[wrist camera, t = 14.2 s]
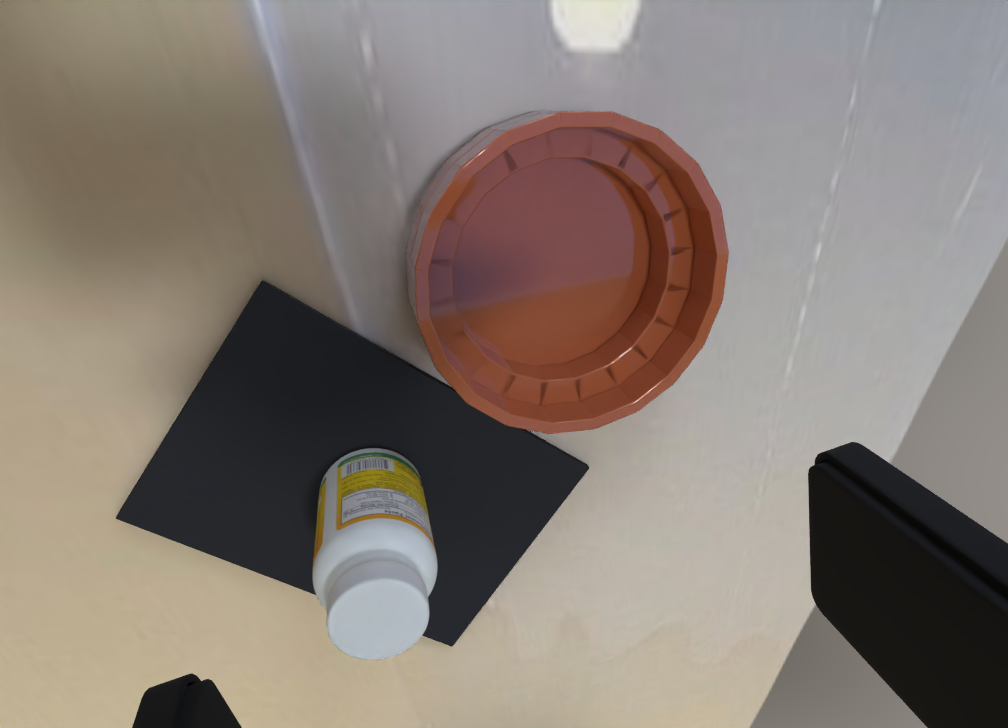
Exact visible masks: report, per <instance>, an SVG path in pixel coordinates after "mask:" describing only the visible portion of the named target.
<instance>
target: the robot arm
mask: <svg viewBox="0 0 1008 728" xmlns="http://www.w3.org/2000/svg"><path fill="white" fill-rule="evenodd" d="M808 483H809V524H810V565H811V592H812V596H813V599H814V601H815V603H816V605H817V607H818V608H819V609H820V611H821V612H822V614H823V615H824V616H825V617H826V618H827V619H828V620H829V621H830V622H831V623H832V625H833V626H834V627H835V628H836V629H837V630H838V631H839V632H840V633H841V634H842V635H843V636H844V638H845V639H846V640H847V641H848V642H849V643H850V644H851V645H852V646H853V647H854V648H855V649H856V651H857V652H858V653H859V654H860V655H861V656H862V657H863V658H864V659H865V660H866V661H867V662H868V664H869V665H870V666H871V667H872V668H873V669H874V670H875V671H876V672H877V673H878V674H879V675H880V676H881V678H882V679H883V680H884V681H885V682H886V683H887V684H888V685H889V686H890V687H891V688H892V690H893V691H894V692H895V693H896V694H897V695H898V696H899V697H900V698H901V699H902V700H903V701H904V702H905V704H906V705H907V706H908V707H909V708H910V709H911V710H912V711H913V712H914V713H915V714H916V716H918V718H919V719H920V720H921V721H922V722H923V723H924V724H925V725H926V726H927V727H928V728H1008V543H1006V542H1005V541H1003V540H1002V539H1000V538H999V537H997V536H996V535H994V534H993V533H991V532H989V531H988V530H987V529H985V528H984V527H982V526H981V525H980V524H978V523H977V522H975V521H974V520H972V519H970V518H969V517H968V516H966V515H965V514H963V513H962V512H960V511H959V510H957V509H956V508H954V507H953V506H952V505H950V504H948V503H947V502H946V501H944V500H943V499H941V498H940V497H938V496H937V495H935V494H934V493H932V492H931V491H929V490H928V489H926V488H925V487H923V486H922V485H921V484H919V483H918V482H916V481H915V480H913V479H912V478H910V477H909V476H907V475H906V474H904V473H903V472H901V471H900V470H898V469H897V468H895V467H894V466H893V465H891V464H890V463H888V462H887V461H885V460H884V459H882V458H881V457H879V456H878V455H876V454H875V453H873V452H872V451H870V450H869V449H867V448H866V447H864V446H863V445H861V444H859V443H855V442H851V443H848V444H845V445H842V446H839V447H837V448H834V449H831V450H828V451H825V452H822V453H820V454H818V455H817V457H816V459H815V465H814V466H812V467H810V469H809V473H808ZM132 728H242V727H241V726H240V724H239V723H238V721H237V719H236V718H235V716H234V714H233V713H232V711H231V710H230V708H229V706H228V705H227V703H226V702H225V700H224V698H223V697H222V695H221V694H220V692H219V690H218V689H217V687H216V686H215V684H214V683H213V682H212V680H209V679H207V680H203V681H201V680H200V679H199V678H198V677H197V676H196V675H194V674H188V675H185V676H182V677H179V678H176V679H174V680H171V681H168V682H165V683H162V684H159V685H156V686H154V687H151V688H149V689H148V690H147V691H146V692H145V693H144V695H143V697H142V699H141V702H140V706H139V709H138V712H137V715H136V718H135V721H134V724H133V727H132Z"/></svg>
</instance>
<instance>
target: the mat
mask: <svg viewBox="0 0 1008 728" xmlns="http://www.w3.org/2000/svg"><path fill="white" fill-rule="evenodd" d="M367 448H380V449H386V450H391V451H393V452H396V453H398V454H400V455H402V456H403V457H405V458H406V459H407V460H409V461H410V462H411V463H412V464H413V465H414V467H415V468H416V470H417V471H418V473H419V475H420V478H421V482H422V486H423V491H424V496H425V501H426V506H427V511H428V516H429V521H430V526H431V531H432V536H433V541H434V546H435V551H436V556H437V565H438V567H437V577H436V581H435V584H434V587H433V589H432V591H431V593H430V595H429V596H428V602H429V621H428V625H427V628H426V630H425V632H424V633H423V636H425V637H428V638H431V639H433V640H436V641H439V642H441V643H444V644H446V645H449V646H453V645H454V644H455V642H456V641H457V640H458V638H459V637H460V636H461V634H462V633H463V632H464V630H465V629H466V628H467V627H468V625H469V624H470V623H471V621H472V620H473V619H474V617H475V616H476V615H477V614H478V612H479V611H480V610H481V608H482V607H483V606H484V604H485V603H486V602H487V601H488V599H489V598H490V597H491V595H492V594H493V593H494V591H495V590H496V589H497V588H498V586H499V585H500V584H501V582H502V581H503V580H504V578H505V577H506V576H507V575H508V573H509V572H510V571H511V569H512V568H513V567H514V565H515V564H516V563H517V562H518V560H519V559H520V558H521V556H522V555H523V554H524V552H525V551H526V550H527V548H528V547H529V546H530V545H531V543H532V542H533V541H534V539H535V538H536V537H537V535H538V534H539V533H540V532H541V530H542V529H543V528H544V526H545V525H546V524H547V522H548V521H549V520H550V519H551V517H552V516H553V515H554V513H555V512H556V511H557V509H558V508H559V507H560V506H561V504H562V503H563V502H564V500H565V499H566V498H567V496H568V495H569V494H570V493H571V491H572V490H573V489H574V487H575V486H576V485H577V483H578V482H579V481H580V479H581V478H582V477H583V476H584V474H585V473H586V472H587V470H588V469H589V467H588V465H587V464H585V463H583V462H582V461H580V460H578V459H576V458H575V457H573V456H571V455H569V454H567V453H566V452H564V451H562V450H560V449H559V448H557V447H555V446H553V445H552V444H550V443H548V442H546V441H545V440H543V439H541V438H539V437H538V436H536V435H534V434H532V433H531V432H529V431H527V430H525V429H522V428H516V427H511V426H507V425H504V424H502V423H501V422H499V421H497V420H495V419H494V418H492V417H490V416H488V415H486V414H485V413H483V412H481V411H479V410H478V409H476V408H474V407H472V406H471V405H469V404H467V403H466V402H465V401H464V400H463V399H462V398H461V397H460V395H459V394H458V393H457V392H456V391H455V390H454V389H453V388H451V387H450V386H448V385H446V384H444V383H443V382H441V381H439V380H437V379H436V378H434V377H432V376H430V375H429V374H427V373H425V372H423V371H422V370H420V369H418V368H416V367H414V366H413V365H411V364H409V363H407V362H406V361H404V360H402V359H400V358H399V357H397V356H395V355H393V354H392V353H390V352H388V351H386V350H385V349H383V348H381V347H379V346H378V345H376V344H374V343H372V342H371V341H369V340H367V339H365V338H363V337H362V336H360V335H358V334H356V333H355V332H353V331H351V330H349V329H348V328H346V327H344V326H342V325H341V324H339V323H337V322H335V321H334V320H332V319H330V318H328V317H327V316H325V315H323V314H321V313H319V312H318V311H316V310H314V309H312V308H311V307H309V306H307V305H305V304H304V303H302V302H300V301H298V300H297V299H295V298H293V297H291V296H290V295H288V294H286V293H284V292H283V291H281V290H279V289H277V288H276V287H274V286H272V285H270V284H268V283H267V282H265V281H263V280H262V281H261V282H260V284H259V286H258V287H257V289H256V291H255V292H254V294H253V295H252V297H251V299H250V300H249V302H248V304H247V305H246V307H245V308H244V310H243V312H242V313H241V315H240V317H239V318H238V320H237V321H236V323H235V325H234V326H233V328H232V330H231V331H230V333H229V334H228V336H227V338H226V339H225V341H224V343H223V344H222V346H221V347H220V349H219V351H218V352H217V354H216V356H215V357H214V359H213V360H212V362H211V364H210V365H209V367H208V369H207V370H206V372H205V373H204V375H203V377H202V378H201V380H200V382H199V383H198V385H197V386H196V388H195V390H194V391H193V393H192V395H191V396H190V398H189V399H188V401H187V403H186V404H185V406H184V408H183V409H182V411H181V412H180V414H179V416H178V417H177V419H176V421H175V422H174V424H173V425H172V427H171V429H170V430H169V432H168V434H167V435H166V437H165V438H164V440H163V442H162V443H161V445H160V447H159V448H158V450H157V451H156V453H155V455H154V456H153V458H152V460H151V461H150V463H149V464H148V466H147V468H146V469H145V471H144V473H143V474H142V476H141V477H140V479H139V481H138V482H137V484H136V486H135V487H134V489H133V490H132V492H131V494H130V495H129V497H128V499H127V500H126V502H125V503H124V505H123V507H122V508H121V510H120V512H119V513H118V515H117V517H116V519H118V520H121V521H123V522H126V523H129V524H131V525H134V526H137V527H139V528H142V529H144V530H147V531H150V532H152V533H155V534H158V535H160V536H163V537H165V538H168V539H171V540H173V541H176V542H179V543H181V544H184V545H186V546H189V547H192V548H194V549H197V550H200V551H202V552H205V553H207V554H210V555H213V556H215V557H218V558H221V559H223V560H226V561H228V562H231V563H234V564H236V565H239V566H242V567H244V568H247V569H249V570H252V571H255V572H257V573H260V574H263V575H265V576H268V577H270V578H273V579H276V580H278V581H281V582H284V583H286V584H289V585H291V586H294V587H297V588H299V589H302V590H305V591H307V592H310V593H312V594H315V595H316V593H315V590H314V586H313V557H314V547H315V537H316V525H317V512H318V499H319V490H320V486H321V482H322V480H323V477H324V476H325V474H326V473H327V471H328V470H329V468H330V467H331V466H332V465H333V464H334V463H335V462H336V461H338V460H339V459H340V458H342V457H343V456H345V455H347V454H349V453H351V452H354V451H357V450H361V449H367Z"/></svg>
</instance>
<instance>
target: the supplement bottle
mask: <svg viewBox="0 0 1008 728" xmlns="http://www.w3.org/2000/svg"><path fill="white" fill-rule="evenodd" d="M437 567H438V565H437V556H436V551H435V546H434V541H433V536H432V531H431V526H430V521H429V516H428V511H427V506H426V501H425V496H424V491H423V486H422V482H421V478H420V475H419V473H418V471H417V470H416V468H415V467H414V465H413V464H412V463H411V462H410V461H409V460H407V459H406V458H405V457H403V456H402V455H400V454H398V453H396V452H393V451H391V450H386V449H380V448H367V449H361V450H357V451H354V452H351V453H349V454H347V455H345V456H343V457H342V458H340V459H339V460H338V461H336V462H335V463H334V464H333V465H332V466H331V467H330V468H329V470H328V471H327V473H326V474H325V476H324V477H323V480H322V482H321V486H320V490H319V499H318V512H317V525H316V537H315V547H314V557H313V586H314V590H315V593H316V596H317V598H318V600H319V602H320V603H321V605H322V606H323V607H324V608H325V609H326V611H327V630H328V634H329V637H330V639H331V640H332V642H333V643H334V645H335V646H336V647H337V648H338V649H339V650H341V651H342V652H344V653H345V654H347V655H350V656H352V657H355V658H359V659H364V660H381V659H386V658H390V657H393V656H396V655H398V654H400V653H403V652H404V651H406V650H408V649H409V648H411V647H412V646H413V645H414V644H415V643H416V642H417V641H418V640H419V639H420V638H421V636H422V635H423V633H424V632H425V630H426V628H427V625H428V621H429V602H428V596H429V595H430V593H431V591H432V589H433V587H434V584H435V581H436V577H437Z"/></svg>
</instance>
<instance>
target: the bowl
mask: <svg viewBox="0 0 1008 728" xmlns="http://www.w3.org/2000/svg"><path fill="white" fill-rule="evenodd" d="M728 253H729V251H728V245H727V239H726V233H725V228H724V222H723V216H722V210H721V206H720V203H719V201H718V200H717V198H716V196H715V194H714V192H713V190H712V188H711V186H710V185H709V183H708V181H707V179H706V177H705V175H704V173H703V172H702V170H701V168H700V166H699V164H698V163H697V162H696V161H695V160H694V159H693V158H692V157H691V156H690V155H688V154H687V153H686V152H685V151H684V150H683V149H682V148H681V147H679V146H678V145H677V144H676V143H675V142H674V141H673V140H672V139H670V138H669V137H668V136H667V135H666V134H665V133H664V132H663V131H661V130H659V129H658V128H655V127H652V126H650V125H647V124H644V123H642V122H639V121H636V120H634V119H631V118H629V117H626V116H623V115H621V114H618V113H615V112H611V111H543V112H529V113H527V114H524V115H521V116H518V117H516V118H513V119H510V120H507V121H504V122H502V123H499V124H496V125H493V126H491V127H488V128H486V129H484V130H483V131H482V132H480V133H479V134H478V135H477V136H475V137H474V138H473V139H472V140H470V141H469V142H468V143H467V144H465V145H464V146H463V147H462V148H460V149H459V150H458V151H457V152H455V153H454V154H453V155H452V156H450V157H449V158H448V159H447V161H445V162H444V164H443V165H442V167H441V169H440V170H439V172H438V173H437V175H436V176H435V178H434V179H433V181H432V182H431V184H430V185H429V187H428V189H427V190H426V192H425V193H424V195H423V196H422V198H421V199H420V201H419V203H418V206H417V210H416V213H415V217H414V221H413V225H412V228H411V232H410V236H409V240H408V243H407V247H406V266H407V284H408V297H409V301H410V304H411V306H412V309H413V312H414V315H415V318H416V321H417V324H418V326H419V329H420V331H421V334H422V336H423V339H424V341H425V344H426V346H427V349H428V351H429V353H430V356H431V358H432V361H433V363H434V366H435V367H436V369H437V370H438V372H439V373H440V374H441V375H442V376H443V377H444V378H445V380H446V381H447V382H448V383H449V384H450V385H451V386H452V387H453V389H454V390H455V391H456V392H457V393H458V394H459V395H460V397H461V398H462V399H463V400H464V401H465V402H466V403H467V404H469V405H471V406H472V407H474V408H476V409H478V410H479V411H481V412H483V413H485V414H486V415H488V416H490V417H492V418H494V419H495V420H497V421H499V422H501V423H502V424H504V425H507V426H511V427H516V428H522V429H527V430H532V431H537V432H542V433H547V434H554V433H563V432H573V431H582V430H591V429H596V428H599V427H601V426H604V425H606V424H609V423H611V422H613V421H616V420H618V419H621V418H623V417H626V416H628V415H630V414H633V413H635V412H637V411H639V410H640V409H642V408H643V407H644V406H645V405H647V404H648V403H649V402H651V401H652V400H653V399H655V398H656V397H657V396H659V395H660V394H661V393H662V392H664V391H665V390H666V389H668V388H669V387H670V386H672V385H673V384H674V382H676V381H677V379H678V378H679V377H680V376H681V374H682V373H683V372H684V370H685V369H686V368H687V367H688V365H689V364H690V363H691V361H692V360H693V359H694V358H695V356H696V355H697V354H698V352H699V351H700V350H701V349H702V347H703V345H704V344H705V342H706V339H707V337H708V334H709V332H710V330H711V327H712V325H713V323H714V320H715V318H716V316H717V313H718V311H719V308H720V306H721V304H722V301H723V294H724V287H725V279H726V271H727V263H728V255H729V254H728Z"/></svg>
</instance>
